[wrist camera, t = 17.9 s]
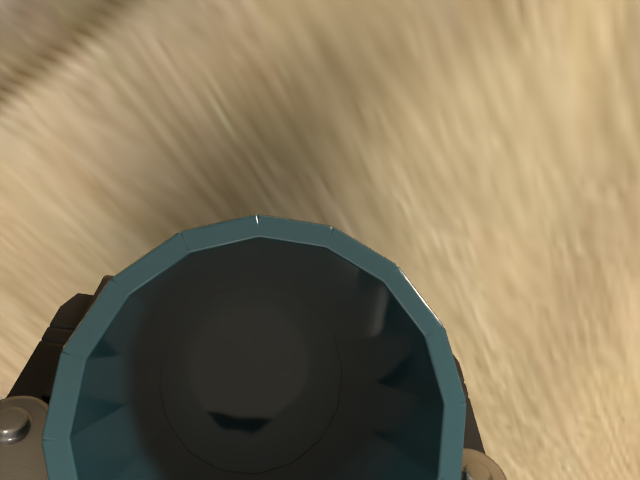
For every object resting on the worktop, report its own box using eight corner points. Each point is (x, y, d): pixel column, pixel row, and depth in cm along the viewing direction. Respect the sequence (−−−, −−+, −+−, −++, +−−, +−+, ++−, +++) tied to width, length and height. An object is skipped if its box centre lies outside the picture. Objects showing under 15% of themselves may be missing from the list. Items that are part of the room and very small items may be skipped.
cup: (132, 470, 17) (-5, 639, 7) (170, 265, 18) (95, 186, 9) (336, 491, 17) (447, 668, 8) (359, 293, 19) (479, 249, 9)
